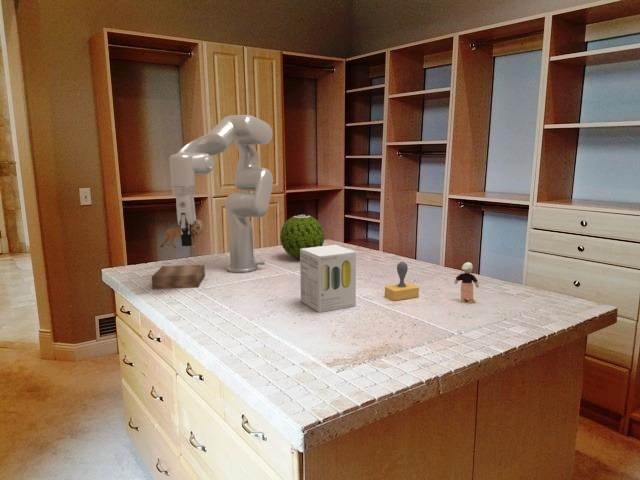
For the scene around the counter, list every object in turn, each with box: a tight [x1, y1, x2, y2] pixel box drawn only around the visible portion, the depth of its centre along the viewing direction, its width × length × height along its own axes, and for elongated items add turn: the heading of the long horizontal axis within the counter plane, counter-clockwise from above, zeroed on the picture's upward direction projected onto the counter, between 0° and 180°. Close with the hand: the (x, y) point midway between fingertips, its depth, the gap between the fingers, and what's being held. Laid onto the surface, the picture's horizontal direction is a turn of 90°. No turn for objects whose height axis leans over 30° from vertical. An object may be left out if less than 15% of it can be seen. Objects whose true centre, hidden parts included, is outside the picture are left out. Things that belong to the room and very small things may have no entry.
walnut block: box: [151, 264, 206, 290], centre depth 174 cm, size 16×16×5 cm
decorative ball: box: [280, 214, 325, 260], centre depth 210 cm, size 20×20×20 cm
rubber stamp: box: [384, 261, 420, 302], centre depth 153 cm, size 10×6×12 cm, turn 115°
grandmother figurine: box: [453, 261, 480, 304], centre depth 148 cm, size 8×4×13 cm, turn 71°
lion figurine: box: [159, 219, 204, 249], centre depth 159 cm, size 15×5×9 cm, turn 110°
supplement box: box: [299, 244, 357, 313], centre depth 146 cm, size 13×13×18 cm
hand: (188, 243), depth 161 cm, fingers closed on lion figurine, 4 cm apart
